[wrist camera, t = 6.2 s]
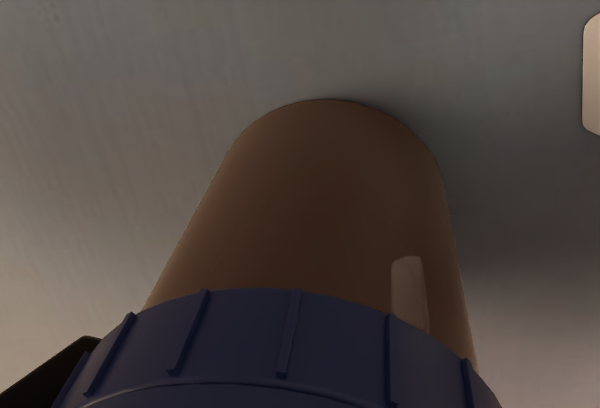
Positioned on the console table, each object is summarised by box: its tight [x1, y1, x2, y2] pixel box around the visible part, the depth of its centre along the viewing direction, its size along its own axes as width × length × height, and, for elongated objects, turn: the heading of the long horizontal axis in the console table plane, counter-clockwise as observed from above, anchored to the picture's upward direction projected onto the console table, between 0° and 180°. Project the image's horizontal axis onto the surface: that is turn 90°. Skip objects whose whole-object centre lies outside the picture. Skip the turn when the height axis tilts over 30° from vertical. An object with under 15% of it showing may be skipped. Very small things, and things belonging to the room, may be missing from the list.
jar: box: [141, 100, 479, 375], centre depth 11 cm, size 6×6×9 cm
